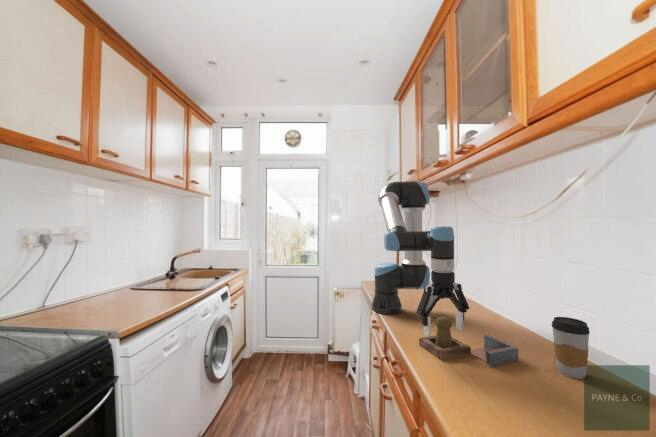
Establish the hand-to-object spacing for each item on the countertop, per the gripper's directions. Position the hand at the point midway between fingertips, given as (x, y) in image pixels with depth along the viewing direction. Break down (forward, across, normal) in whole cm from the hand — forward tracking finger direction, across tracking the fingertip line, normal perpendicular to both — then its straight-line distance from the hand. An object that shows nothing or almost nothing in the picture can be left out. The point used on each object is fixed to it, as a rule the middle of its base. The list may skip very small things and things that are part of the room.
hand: (443, 332), depth 95 cm
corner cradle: (+6, +11, -8) cm, 15 cm away
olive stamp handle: (+6, 0, 0) cm, 6 cm away
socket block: (+6, 0, 0) cm, 6 cm away
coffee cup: (+6, +24, -24) cm, 34 cm away
